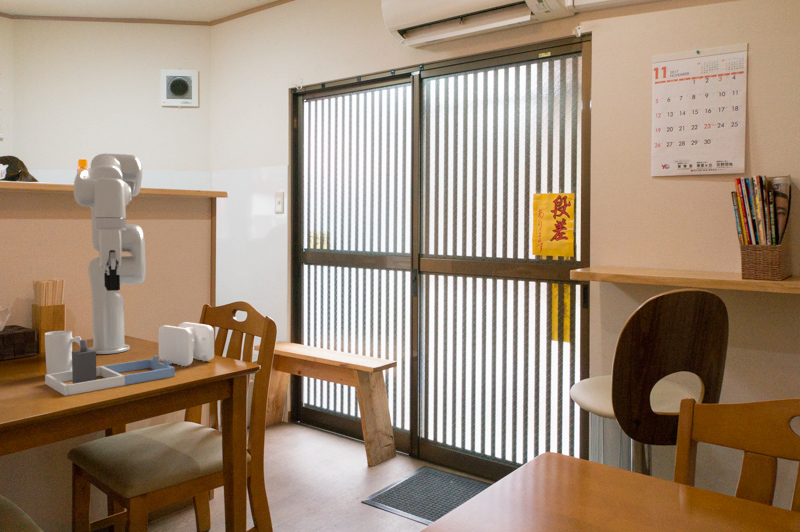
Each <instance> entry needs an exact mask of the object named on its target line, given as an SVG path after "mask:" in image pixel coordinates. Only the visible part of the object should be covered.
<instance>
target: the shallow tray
mask: <svg viewBox="0 0 800 532" xmlns="http://www.w3.org/2000/svg"><path fill="white" fill-rule="evenodd" d="M144 369H151V370H149V371H148V370H147V371H142V372H136V373H129V374H125V375H123V374H122V373H126V372H130V371H138V370H144ZM175 369H176V368H175V367H174V366H171V365H170V364H169V360H168V359H163V361H162V362H161V361H160V358H159V355H156V354H155V355H154V354H153V355H152V358H147V359H146V358H145V359H138V360H135V361H133V360H132V361H128V362H119V363H114V364H108V365H107V364H106V365H99V366H96V375H97V377H103V378H99V379H97V380H93V381H87V382H81V383H75V384H73V383H69V384H67V383H65V382H70V381H71V382H72V381H73V378H72V371H67V372H60V373H53V374H47V373H46V374H45V375H44V381H45V382H44V383H45V385H46V386H48V387H50V388H51V389H52V390H55V391H56V392H58V393H59V394H61V395H62V396H65V397H66V396H72V395H77V394H78V395H79V394H83V393H89V392H94V391H100V390H105V389H110V388H111V389H112V388H116V387H123V386H128V385H133V384H139V383H144V382H151V381H155V380H156V381H157V380H162V379H167V378H172V377H173V376H174V377H175V376H176V370H175Z"/></svg>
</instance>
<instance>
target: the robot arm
mask: <svg viewBox="0 0 800 532" xmlns="http://www.w3.org/2000/svg"><path fill="white" fill-rule="evenodd" d="M142 179H143V166H142V163H141V160H140V159H139V158H138V157H137V156H136V155H134V154H123V153H122V154H121V153H107V152H105V153H100V154H97V155H95V156H94V157H93V158H92V159H91V162H90V168H87V169H84V170H81V171H79V172H78V173H77V174H76V176H75V178H74V181H73V198H74V200H75V202H76V203H77V204H78V205H79V206H81V207H89V208H90V212H91V235H92V237H91V238H92V246H93V249H94V250H95V251H96V252H98V255H99V257H95V258H92V259H91V260H90V261H89V262H88V265H87V271H88V276H89V277H88V278H89V282H90V290H91V306H92V308H91V310H92V344H93V345H92V346H90V347H87V349H91V350H94V351H96V355H110V354H118V353H124V352H126V351H127V352H128V351H129V350H130V348H131V347H130V345H129V344H128V343H127V344H126V343H125V310H124V309H125V306H124V305H125V304H124V301H125V300H124V297H123V295H122V293H121V292H120V290H121V285H123V286H124V285H126V286H127V285H139V284H142V283H144V282H145V280H146V276H147V274H146V273H147V263H146V243H145V242H146V240H145V233H144V230H143V228H142V227H141V225H138V224H133V223H132V224H131V223H128V224H127V213H126V212H127V211H126V206H128V205H129V203H130V202H131V201H132V197H136V196H138V195H139V193H140V191H141V186H142ZM122 253H129V255H130V256H126V255H125V256H123V255H122Z"/></svg>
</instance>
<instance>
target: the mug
mask: <svg viewBox="0 0 800 532" xmlns="http://www.w3.org/2000/svg"><path fill="white" fill-rule="evenodd" d="M80 340H82V338H81V336H80V335H79V336H74V337H73V331H72V330H55V331H48V332H45V333H44V348H45V366H46V368H45V369H46V375H47V374H53V373H60V372H67V371H72V351H73V343H76V344H77V345H78V346H79V347H80Z"/></svg>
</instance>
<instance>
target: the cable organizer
mask: <svg viewBox="0 0 800 532" xmlns="http://www.w3.org/2000/svg"><path fill="white" fill-rule="evenodd" d="M157 333H158V356H159V360H161V361H162V362H163V359H168V360H169V363H170V364H169V365H174V364H175V365H178V366H179V365H181V366H180V367H183V366H187V367H188V366H189V365H191V364H192V363H193V361H194V359H195V360H199V361H200V360H203V361H202V362H205V361H207V362H209V361H210V360H213V359H214V357H215V330H214V328H213V327H212V326H211V325H209V324H204V323H198V322H196V323H195V322H188V321H185V322H181V323H179V324H178V326H174V325H168V324H165V325H160V326H159V328H158V331H157ZM193 358H194V359H193ZM172 363H173V364H172Z"/></svg>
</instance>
